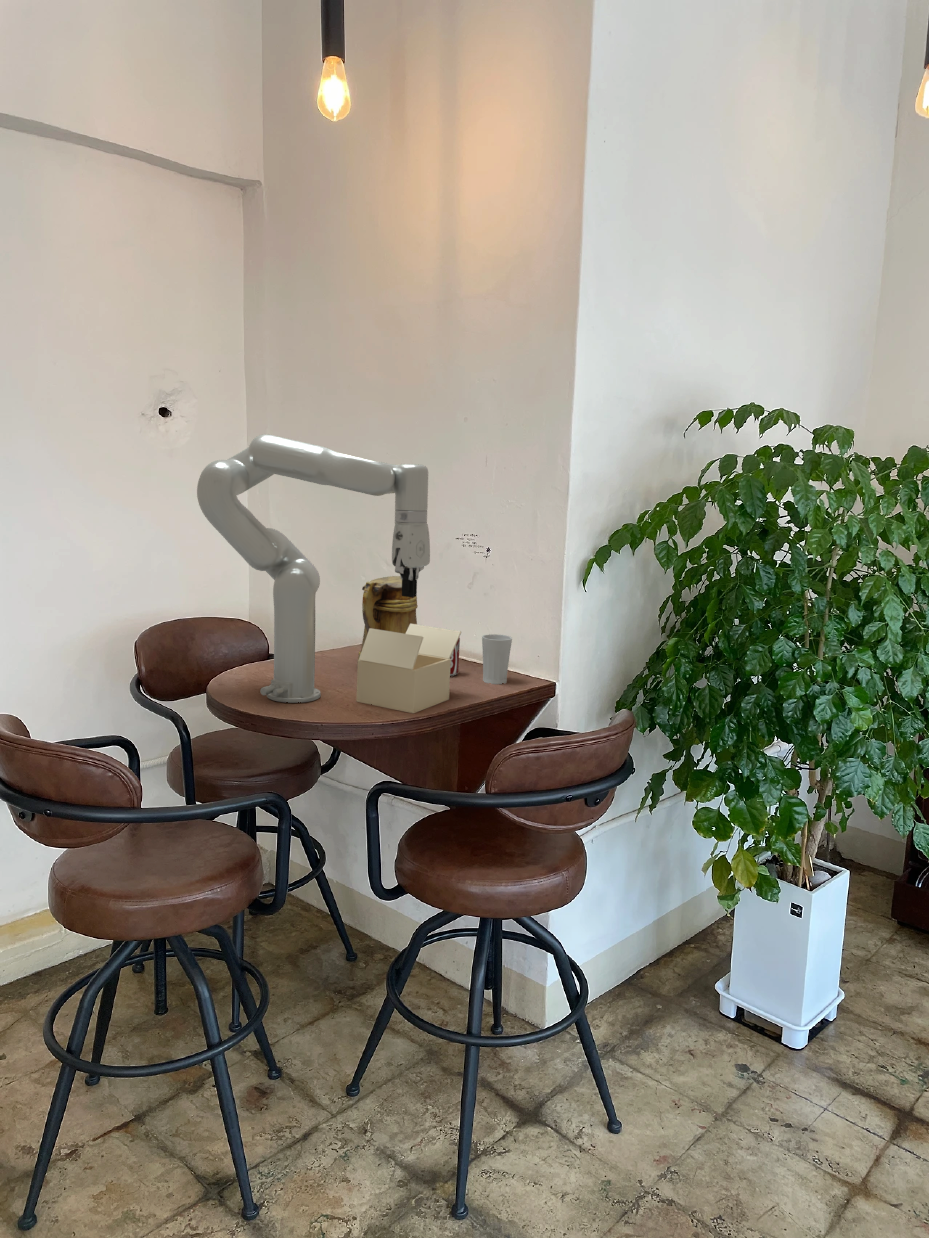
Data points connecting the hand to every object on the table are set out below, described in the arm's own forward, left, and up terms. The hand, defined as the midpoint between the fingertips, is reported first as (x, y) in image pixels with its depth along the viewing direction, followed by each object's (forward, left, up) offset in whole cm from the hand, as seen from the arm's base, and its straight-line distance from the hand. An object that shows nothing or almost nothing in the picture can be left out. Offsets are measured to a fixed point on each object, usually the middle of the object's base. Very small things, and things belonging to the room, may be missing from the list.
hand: (409, 596), depth 211 cm
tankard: (+26, +23, -26) cm, 43 cm away
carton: (0, 0, -25) cm, 25 cm away
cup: (+32, -8, -26) cm, 42 cm away
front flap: (-6, 0, -12) cm, 13 cm away
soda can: (+30, +6, -26) cm, 40 cm away
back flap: (+10, 0, -12) cm, 16 cm away
